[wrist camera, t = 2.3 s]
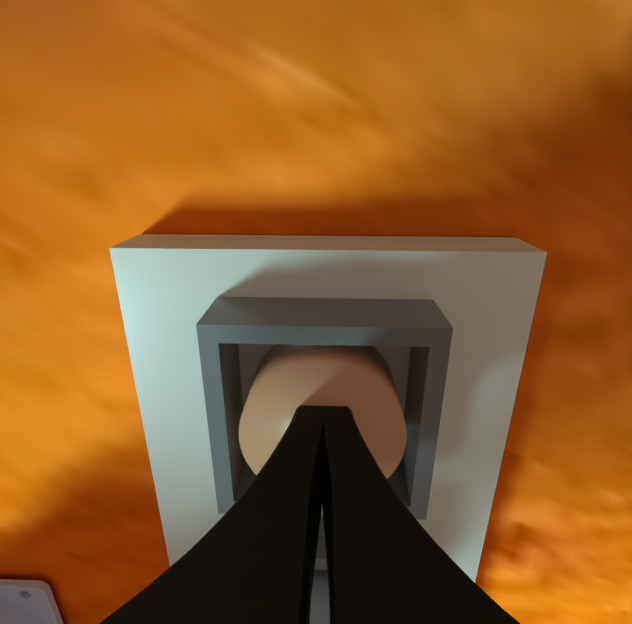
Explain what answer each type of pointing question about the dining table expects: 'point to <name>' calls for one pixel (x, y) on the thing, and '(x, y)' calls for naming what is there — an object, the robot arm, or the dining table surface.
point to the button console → (329, 329)
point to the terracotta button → (323, 399)
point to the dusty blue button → (320, 599)
